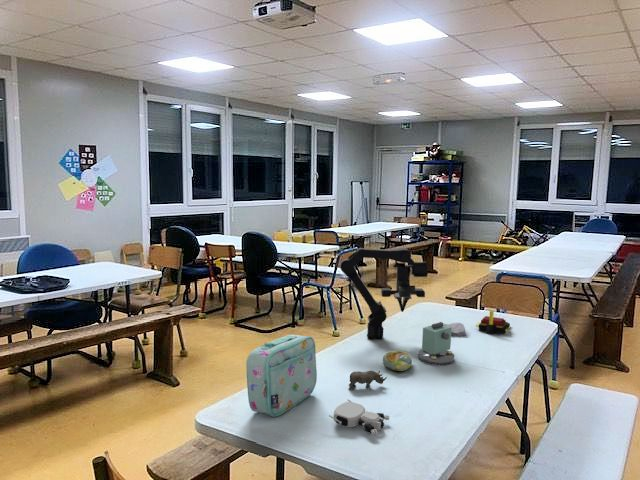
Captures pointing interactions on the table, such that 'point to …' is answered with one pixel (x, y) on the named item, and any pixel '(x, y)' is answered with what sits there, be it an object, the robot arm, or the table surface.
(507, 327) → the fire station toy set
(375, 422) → the robot toy
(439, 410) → the table surface
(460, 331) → the stone block
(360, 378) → the rhino figurine
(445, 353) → the dark grey disc
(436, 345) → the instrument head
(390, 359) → the cell model
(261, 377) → the lunch box
